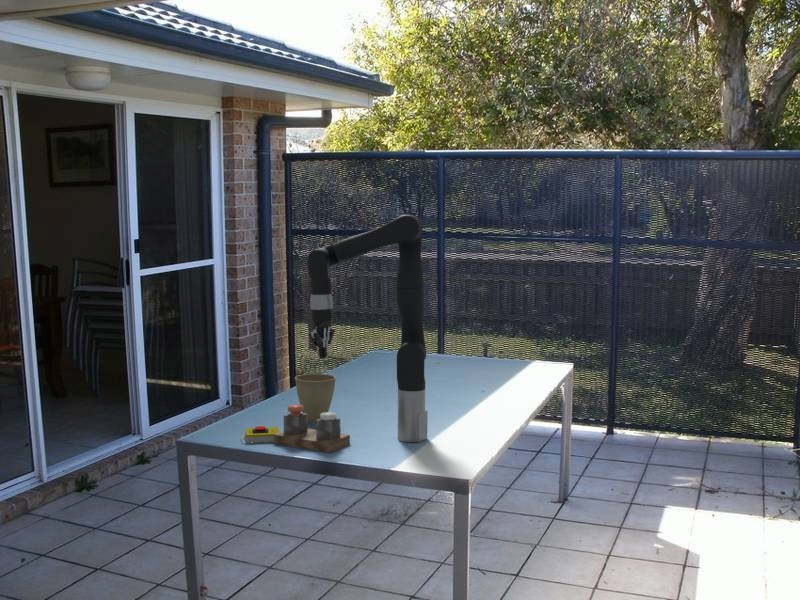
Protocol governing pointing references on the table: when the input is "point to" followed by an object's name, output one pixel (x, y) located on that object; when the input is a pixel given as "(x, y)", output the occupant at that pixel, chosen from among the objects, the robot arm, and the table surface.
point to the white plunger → (328, 416)
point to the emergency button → (260, 434)
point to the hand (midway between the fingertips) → (323, 357)
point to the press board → (311, 434)
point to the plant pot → (315, 394)
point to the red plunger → (295, 409)
